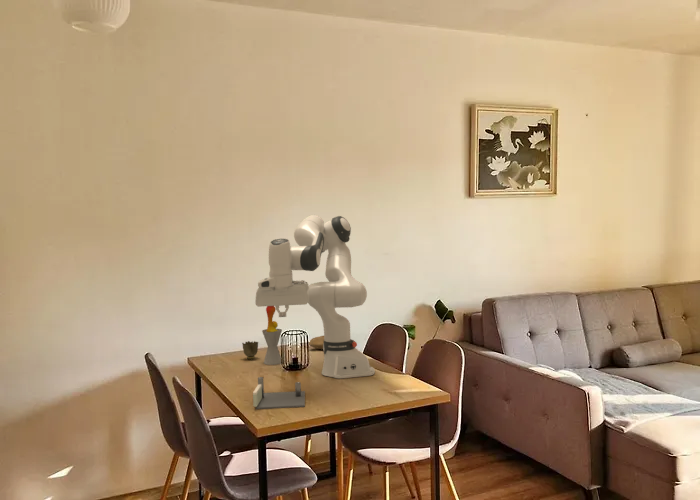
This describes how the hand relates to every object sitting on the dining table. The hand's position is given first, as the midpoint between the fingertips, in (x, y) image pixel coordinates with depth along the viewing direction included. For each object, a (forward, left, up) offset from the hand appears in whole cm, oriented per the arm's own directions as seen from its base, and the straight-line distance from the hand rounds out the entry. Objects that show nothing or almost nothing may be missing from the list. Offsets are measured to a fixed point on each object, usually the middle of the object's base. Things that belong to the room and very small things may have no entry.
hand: (282, 316), depth 240 cm
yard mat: (+1, +15, -28) cm, 32 cm away
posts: (+1, +12, -28) cm, 31 cm away
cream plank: (+9, +19, -27) cm, 34 cm away
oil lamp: (-17, -71, -29) cm, 78 cm away
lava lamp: (+7, -46, -28) cm, 54 cm away
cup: (+18, -55, -28) cm, 64 cm away
